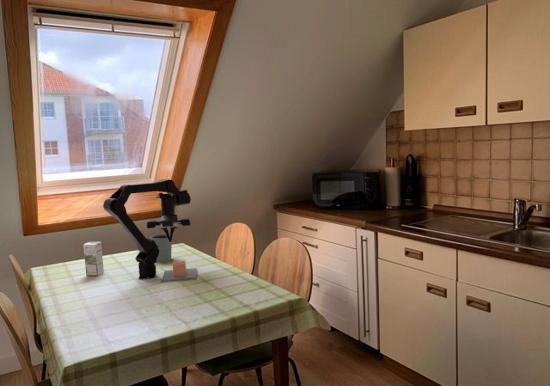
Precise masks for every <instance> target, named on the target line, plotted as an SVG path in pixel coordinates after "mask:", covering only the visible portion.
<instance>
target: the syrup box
mask: <svg viewBox="0 0 550 386" xmlns="http://www.w3.org/2000/svg"><path fill="white" fill-rule="evenodd" d="M82 245H83V246H82V248H83V252H84V253H83V254H84V265H85V274H86V277H99V276H100V275H102V274H104V273H105V268H104V259H103V258H104V257H103V249H102V248H103V247H102V241H87V242H85V243H84V244H82Z"/></svg>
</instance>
